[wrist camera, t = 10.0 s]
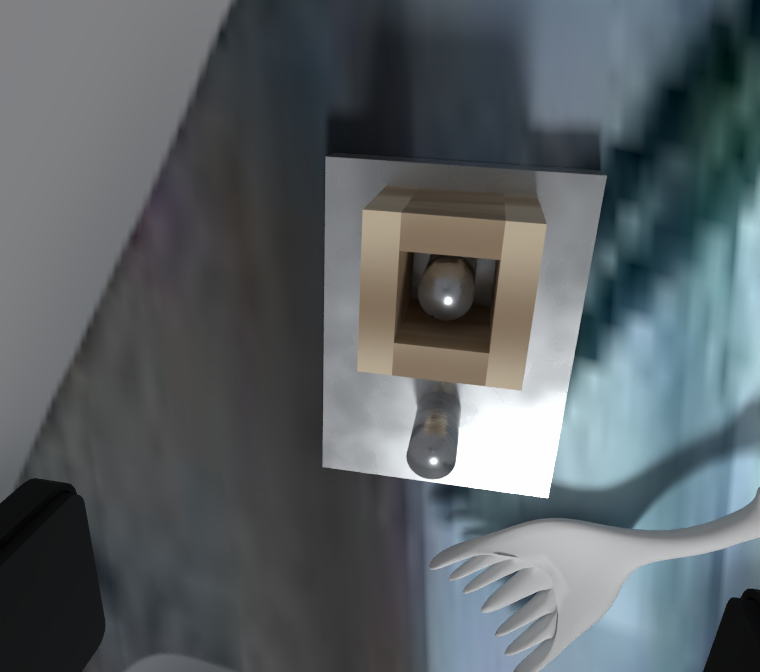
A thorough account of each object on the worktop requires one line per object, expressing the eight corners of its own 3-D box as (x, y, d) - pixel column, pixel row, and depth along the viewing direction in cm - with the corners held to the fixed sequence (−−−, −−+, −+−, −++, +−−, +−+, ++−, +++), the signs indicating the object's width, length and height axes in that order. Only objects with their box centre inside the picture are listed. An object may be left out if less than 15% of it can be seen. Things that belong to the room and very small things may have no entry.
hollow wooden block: (386, 185, 25) (362, 209, 21) (537, 196, 25) (546, 224, 20) (380, 322, 28) (357, 371, 23) (517, 337, 27) (521, 390, 22)
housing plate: (334, 152, 27) (296, 170, 22) (600, 170, 25) (627, 193, 20) (329, 450, 33) (299, 518, 28) (545, 479, 31) (555, 557, 26)
